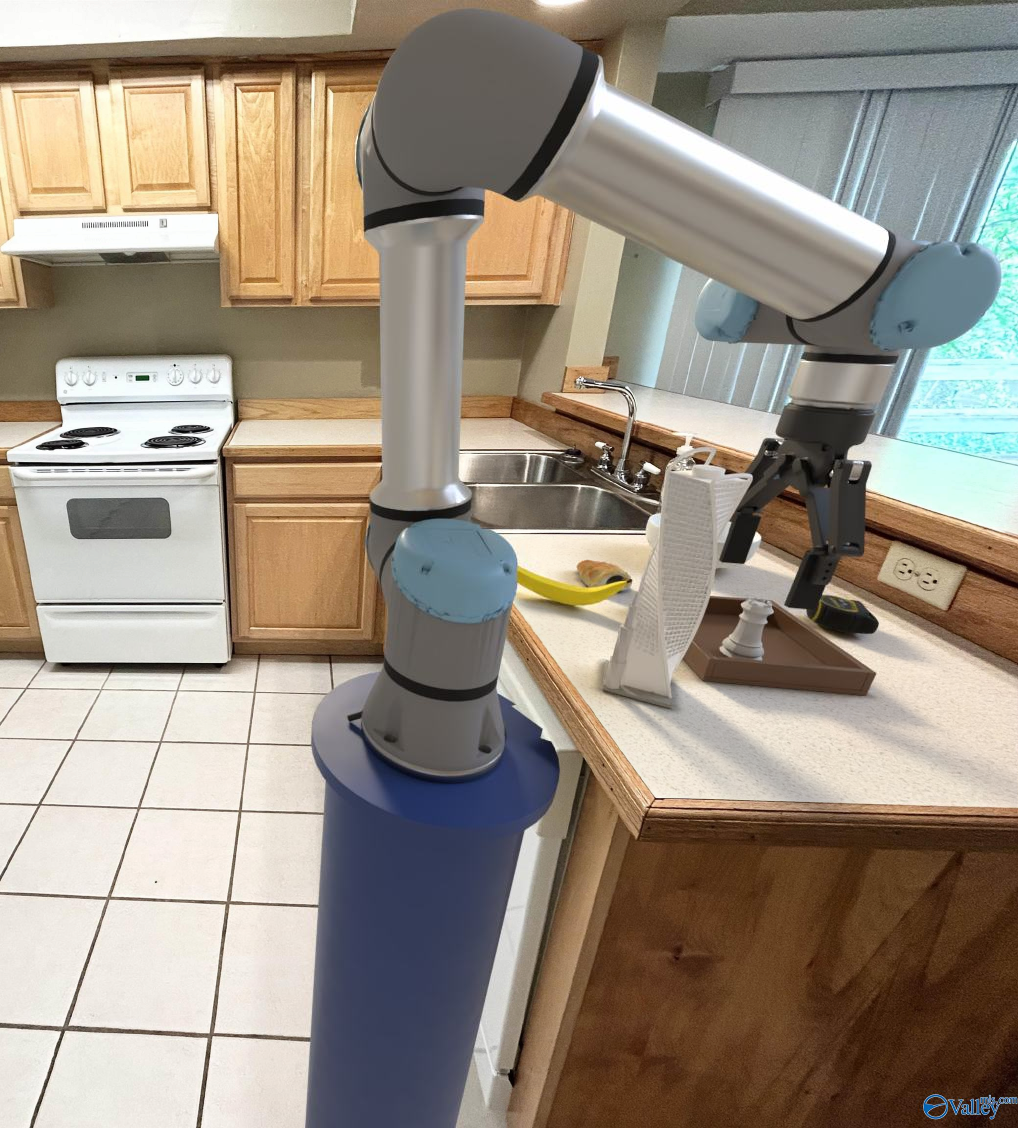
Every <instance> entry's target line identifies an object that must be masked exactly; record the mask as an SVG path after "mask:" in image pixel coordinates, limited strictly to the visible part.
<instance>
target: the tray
mask: <svg viewBox="0 0 1018 1128" xmlns="http://www.w3.org/2000/svg"><path fill="white" fill-rule="evenodd" d="M747 598H748V597H735V596H734V597H731V596H720V595H719V596H718V595H710V598H709V601H708V604H707V607H706V610H705V613H704V616H703V618H702V620H701V623H700V625H699V628H698V630H697V632H696V634H695V636H694V638H693V640H692V642H691V644H690V646H689V648H688V649H687V651H686V653H685V655H684V657H683V658H682V661H684V663H685V664H687V666H688V667H689V668H690V669H691V670H692V671H693V673H694V674H696V675H697V677H698V678H699V679H700V680H701V681H702V682H711V683H712V682H713V683H722V684H723V683H724V684H736V685H746V686H756V687H768V688H778V689H779V688H781V689H790V690H800V691H801V690H802V691H810V692H811V691H813V692H823V693H833V694H834V693H835V694H845V695H846V694H847V695H857V696H867V695H868V693H869V691H870V689H871V687H872V684H873V682H874V680H875V679H876V676H877V672H876V671H874V670H873V669H872V668H870V667H869V666H868V665H866V664H864V663H863V662H861V661H860V660H859V659H858V658H856V657H854V656H853V655H852V654H850V653H849V652H847V651H846V650H844V649H843V648H842V647H840V646H838V645H837V644H836V643H834V642H833V641H831V640H830V639H829V638H827V637H825V636H824V635H823V634H822V633H820V632H818V631H817V630H816V629H814V628H812V626H810V625H808V624H807V623H806V622H804V621H802V620H801V619H800V618H798V617H797V616H795V615H794V614H793V613H791V612H790V611H788V610H787V609H785V608H784V607H783V606H781V605H780V604H778V603H777V602H775V601H774V600H772V599H766V600H765V603H767V601H770V602H772V604H773V605H772V609H773V611H774V613H772V614H771V615H769V616H767V618H766V620H767V622H768V623H766V624H765V625H764V627H763V631H762V637H761V642H762V644H763V645H762V647H763V649H764V654H763V655H762V656H761V657H762V660H751V659H739V658H727V657H724V656H723V655H722V653H721V651H720V647H721V646H723V644H722V641H723V640H724V639H726V638H727V637H729V635H730V634H732V633H733V632H734V630H735V629H736V627H737V625H738V623H739V621H740V616H739V615H740V614H742V613H743V608H742V606H741V604H742V603H743V602H745V601H746V599H747ZM760 599H761V598H757V599H756V601H760ZM750 600H751V599H750Z"/></svg>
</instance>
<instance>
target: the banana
mask: <svg viewBox="0 0 1018 1128" xmlns="http://www.w3.org/2000/svg"><path fill="white" fill-rule="evenodd" d="M631 582H632V583H633V579H632V578H631V579H629V580H627V581H620V582H615V583H611V584H608V585H604V586H600V587H594V588H589V587H585V586H584V587H583V586H577V585H573V584H568V583H564V582H560V581H558V580H557V581H556V580H554V579H551V578H547V577H545V576H542V575H539V574H537V573H535V572H532V571H530V570H528V569H526V568H524V567H522V566H519V565H518V568H517V583H518V585H520V586H522V587H523V588H525V589H527V590H529V591H530V592H532V593H534V594H537V595H539V596H541V597H543V598H546V599H549V600H550V601H554V602H558V603H560V604H564V605H570V606H581V607H583V606H591V605H595V604H598V603H601V602H603V601H605V600H608V599H609V598H611V597H613V596H614V595H616V594H617V593H619V592H621V591H620V590H621V589H623V588H624V587H625V586H626V585H627V584H628V583H631Z"/></svg>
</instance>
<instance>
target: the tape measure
mask: <svg viewBox="0 0 1018 1128" xmlns="http://www.w3.org/2000/svg"><path fill="white" fill-rule="evenodd" d="M805 610H806V616H807V618H808V619H809V620H810V621H812V622H813V623H814V624H816V625H818V626H821V628H824V629H829V630H832V631H835V632H836V631H837V632H839V633H849V634H859V635H872V634H874V633H876V631H877V630H878V628H879V626H880V622H879V619H878V618H877V617H876V616H875V615H874V614H873V613H872V612H871V611H870V610H869V609H868V608H867V607H866V606H865V604H864V603H862V601H859V600H856V599H847V598H845V597H840V596H838V595H832V594H822V596H821V598H820V601H819V603H818V606H817V608H816V610H809V609H805Z"/></svg>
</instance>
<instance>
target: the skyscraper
mask: <svg viewBox="0 0 1018 1128" xmlns="http://www.w3.org/2000/svg"><path fill="white" fill-rule="evenodd" d="M702 452H709V453H710V454H709V455H708V457H707V459H706V461H705V462H704V464H693V465H692V468H691V469H688V470H673V469H674V468H675V467H676V465H677V464H678V463H679V462H680V461H681V460H682V459H683V458H686V457H688V456H690V455H693V454H696V453H702ZM716 453H717V450H716V448H714V447H711V446H702V447H696V448H693V449H690V450H688V451H685V452H684V453H682V454H680V455H679V456H678V457H677V458H676V459H675V460H674V461H673V462H671V464H670V465H669V467H668V468H667V469H666V471H665V475H664V482H663V491H662V500H661V508H660V513H661V516H660V527H659V537H658V539H657V541H656V543H655V545H654V548H652V550H651V552H650V554H649V556H648V560H647V562H646V565H645V568H644V571H643V573H642V577H641V579H640V582H639V583H640V584H639V586H638V590H635V592H634V595H633V600H632V603H631V604H629V605H628V608H627V614H626V617H625V621H624V623H621V624H620V626H619V629H618V633H617V637H616V641H615V645H614V648H613V653H612V655H610V657H609V660H607V659H606V660H605V662H604V669H603V677H602V685H601V690H602V691H605V692H608V693H612V694H615V695H619V696H623V697H627V698H630V699H634V700H638V701H642V702H644V703H649V704H652V705H655V706H660V707H664V708H667V709H673V693H672V691H673V690H672V677H673V675H674V674H675V672H676V670H677V669H678V667H679V665H680V664H681V662H682V661H683V659H682V658H683V657H684V655H685V653H686V651H687V649H688V648H689V646H690V644H691V642H692V640H693V638H694V636H695V634H696V632H697V630H698V628H699V625H700V623H701V620H702V618H703V616H704V613H705V610H706V607H707V604H708V601H709V598H710V596H711V595H712V591H713V586H714V581H715V575H716V570H717V569H716V561H717V540H718V538H719V537H720V535H721V534H722V532H723V530H724V529H725V527H726V525H727V524H728V522H730V521H731V520H732V518H733V516H734V513H735V510H736V508H737V507H738V505H739V503H740V501H741V500H742V498H743V496H744V495H745V493H746V491H747V489H748V488H749V486H750V484H751V482H752V480H753V477H752V475H751V474H748V473H744V472H742V473H741V472H740V473H738V472H737V473H730V474H725V473H726V470H727V469H726V468H724V467H721V466H717V465H710V464H711V462H712V460H713V459H714V456H715V454H716ZM740 478H747V479H748V480H744V479H740Z"/></svg>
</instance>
